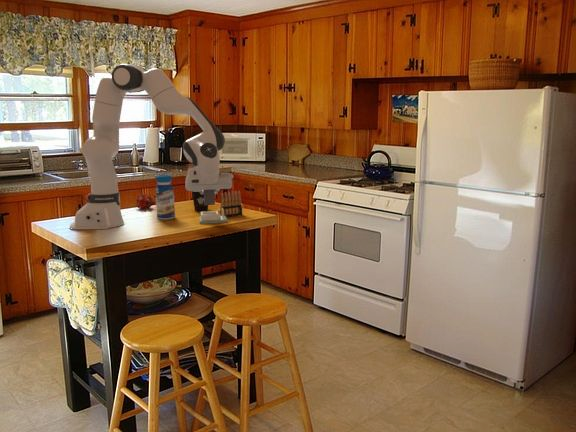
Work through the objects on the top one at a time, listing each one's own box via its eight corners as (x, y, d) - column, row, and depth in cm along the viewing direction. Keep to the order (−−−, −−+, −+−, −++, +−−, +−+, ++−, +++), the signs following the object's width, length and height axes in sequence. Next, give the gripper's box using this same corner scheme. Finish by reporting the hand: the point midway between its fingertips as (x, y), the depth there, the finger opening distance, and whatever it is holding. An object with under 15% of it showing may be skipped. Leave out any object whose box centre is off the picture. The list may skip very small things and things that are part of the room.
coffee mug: (189, 211, 273) (188, 191, 271) (197, 208, 281) (196, 188, 279) (211, 212, 270) (210, 192, 268) (218, 209, 278) (217, 189, 276)
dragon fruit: (142, 209, 288) (150, 216, 279) (129, 201, 283) (136, 208, 273) (151, 196, 289) (160, 202, 279) (138, 187, 283) (146, 194, 274)
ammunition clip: (240, 214, 264) (239, 189, 261) (242, 215, 262) (241, 190, 260) (220, 217, 258) (219, 191, 256) (222, 217, 256) (221, 192, 254)
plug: (204, 205, 245) (203, 185, 244) (204, 203, 250) (203, 183, 248) (214, 204, 246) (213, 184, 244) (214, 203, 250) (213, 183, 249)
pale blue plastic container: (200, 223, 244) (199, 212, 243) (199, 219, 254) (198, 208, 253) (227, 222, 246) (227, 211, 245) (225, 218, 256) (225, 207, 255)
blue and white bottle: (175, 215, 263) (172, 173, 259) (175, 219, 255) (173, 175, 251) (156, 216, 261) (154, 174, 257) (156, 220, 253) (154, 176, 249)
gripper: (232, 167, 240) (231, 186, 251) (184, 169, 236) (185, 188, 248) (234, 178, 236) (232, 197, 248) (185, 180, 233) (186, 200, 244)
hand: (208, 193), depth 248 cm, fingers closed on plug, 4 cm apart
